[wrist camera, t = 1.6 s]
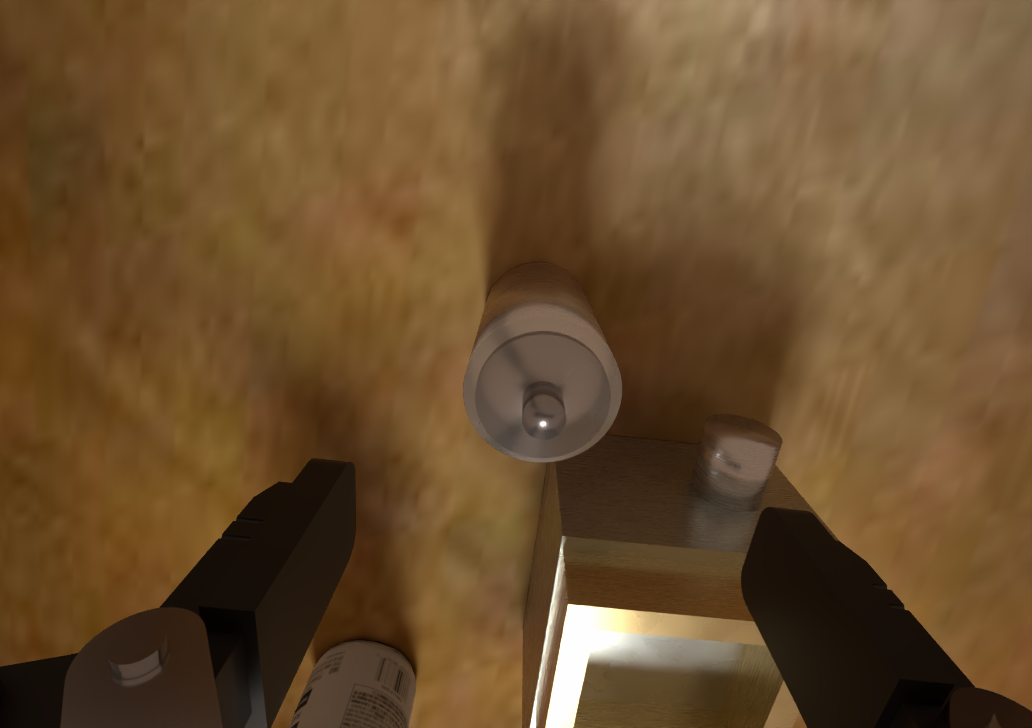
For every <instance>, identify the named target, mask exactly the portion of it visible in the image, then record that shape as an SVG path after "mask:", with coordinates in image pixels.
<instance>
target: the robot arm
mask: <svg viewBox="0 0 1032 728" xmlns="http://www.w3.org/2000/svg"><path fill="white" fill-rule="evenodd" d="M355 532H356V499H355V467H354V464H353V463H352V462H344V461H334V460H325V459H315V458H313V459H311V460H310V461H309V462H308V463H307V465H306V466H305V467H304V468H303V470H302V471H301V472H300V474H299V475H298V476H297V478H296V479H295V480H294V482H293V483H287V482H278V483H276V484H274V485H273V486H271V487H270V488H268V489H266V490H265V491H263V492H261V493H260V494H258V495H257V496H255V497H253V499H252V500H251V501H250V502H249V503H248V505H247V506H246V507H245V508H244V509H243V510H242V512H241V513H240V514H239V515H238V516H237V519H236V521H233V522H232V523H231V524H230V526H229V527H228V528H227V529H226V530H225V531H224V533H223V534H222V538H221V539H218V540H217V541H216V542H215V543H214V544H213V546H212V547H211V548H210V549H209V550H208V551H207V553H206V554H205V555H204V556H203V557H202V558H201V560H200V561H199V562H198V563H197V564H196V565H195V567H194V568H193V569H192V570H191V571H190V573H189V574H188V575H187V576H186V577H185V578H184V580H183V581H182V582H181V583H180V584H179V585H178V587H177V588H176V589H175V590H174V591H173V592H172V594H171V595H170V596H169V597H168V598H167V599H166V601H165V602H164V603H163V604H162V605H161V607H160V608H156V609H151V610H147V611H143V612H140V613H137V614H134V615H132V616H129V617H127V618H125V619H123V620H120V621H118V622H116V623H115V624H113V625H111V626H110V627H108V628H106V629H105V630H103V631H102V632H101V633H99V634H98V635H96V636H95V637H94V638H93V639H92V640H91V641H89V642H88V643H87V644H86V645H85V646H84V647H83V648H82V649H81V651H80V652H79V653H76V654H71V655H66V656H60V657H54V658H49V659H43V660H37V661H31V662H25V663H19V664H14V665H8V666H2V667H0V728H271V726H272V724H273V722H274V720H275V718H276V715H277V713H278V711H279V709H280V707H281V705H282V703H283V700H284V698H285V696H286V694H287V692H288V690H289V688H290V685H291V683H292V681H293V679H294V677H295V675H296V673H297V670H298V668H299V666H300V664H301V662H302V660H303V658H304V656H305V653H306V651H307V649H308V647H309V645H310V643H311V641H312V638H313V636H314V634H315V632H316V630H317V628H318V626H319V623H320V621H321V619H322V617H323V615H324V613H325V611H326V608H327V606H328V604H329V602H330V600H331V598H332V596H333V594H334V591H335V589H336V587H337V585H338V583H339V581H340V579H341V576H342V574H343V572H344V570H345V568H346V566H347V564H348V561H349V559H350V556H351V553H352V549H353V545H354V540H355ZM741 589H742V594H743V598H744V601H745V603H746V606H747V608H748V610H749V612H750V614H751V616H752V618H753V620H754V622H755V624H756V626H757V628H758V630H759V632H760V634H761V636H762V638H763V640H764V642H765V644H766V646H767V648H768V650H769V652H770V654H771V656H772V658H773V660H774V662H775V664H776V666H777V668H778V670H779V672H780V674H781V676H782V678H783V680H784V682H785V684H786V686H787V688H788V690H789V692H790V694H791V696H792V698H793V700H794V702H795V704H796V706H797V708H798V710H799V712H800V714H801V716H802V718H803V720H804V722H805V724H806V726H807V728H1032V711H1030V710H1029V709H1027V708H1026V707H1024V706H1022V705H1020V704H1019V703H1017V702H1015V701H1013V700H1011V699H1009V698H1007V697H1005V696H1002V695H1000V694H997V693H995V692H992V691H989V690H985V689H981V688H976V687H975V686H974V685H973V684H972V683H971V682H970V681H969V679H968V678H967V677H966V676H965V675H964V674H963V672H962V671H961V670H960V669H959V668H958V667H957V665H956V664H955V663H954V662H953V661H952V660H951V659H950V657H949V656H948V655H947V654H946V653H945V652H944V650H943V649H942V648H941V647H940V646H939V645H938V644H937V642H936V641H935V640H934V639H933V638H932V637H931V635H930V634H929V633H928V632H927V631H926V630H925V629H924V627H923V626H922V625H921V624H920V623H919V622H918V620H917V619H916V618H915V617H914V616H913V615H912V614H911V612H910V611H909V610H905V609H904V604H903V603H902V602H901V601H900V600H899V598H898V597H897V596H896V595H895V594H894V593H893V592H892V590H888V589H887V585H886V583H885V582H884V581H883V580H882V579H881V578H880V577H879V575H878V574H877V573H876V572H875V571H874V570H873V568H872V567H871V566H870V565H869V564H868V563H867V562H866V561H865V560H864V559H862V558H861V557H860V556H858V555H857V554H856V553H854V552H853V551H852V550H850V549H849V548H848V547H846V546H845V545H844V544H842V543H841V542H840V541H836V540H835V539H834V538H833V537H832V536H831V534H830V533H829V532H828V531H827V530H826V528H825V527H824V526H823V525H822V524H821V522H820V521H819V520H818V519H817V518H816V516H815V515H814V514H813V513H811V512H809V511H804V510H795V509H785V508H775V507H767V508H765V509H764V510H763V511H762V513H761V514H760V517H759V519H758V522H757V525H756V528H755V531H754V534H753V537H752V540H751V543H750V546H749V549H748V552H747V555H746V558H745V561H744V564H743V567H742V572H741Z"/></svg>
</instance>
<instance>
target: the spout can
mask: <svg viewBox="0 0 1032 728" xmlns="http://www.w3.org/2000/svg"><path fill="white" fill-rule="evenodd" d="M463 398H464V405H465V408H466V412H467V415H468V417H469V419H470V421H471V423H472V425H473V426H474V428H475V430H476V431H477V432H478V433H479V435H480V436H481V437H482V438H483V439H484V440H485V441H486V442H487V443H488V444H490V445H491V446H492V447H494V448H495V449H496V450H498V451H500V452H502V453H504V454H506V455H508V456H511V457H513V458H516V459H520V460H523V461H530V462H554V461H560V460H564V459H567V458H571V457H573V456H576V455H578V454H580V453H582V452H584V451H585V450H587V449H589V448H590V447H592V446H593V445H594V444H596V443H597V442H598V441H599V440H600V439H601V438H602V437H603V436H604V435H605V434H606V432H607V431H608V430H609V429H610V427H611V425H612V424H613V422H614V420H615V418H616V416H617V414H618V411H619V408H620V404H621V398H622V380H621V374H620V371H619V368H618V365H617V362H616V360H615V358H614V356H613V354H612V352H611V349H610V347H609V345H608V343H607V341H606V339H605V337H604V334H603V332H602V330H601V328H600V326H599V324H598V321H597V319H596V317H595V315H594V313H593V311H592V309H591V306H590V304H589V302H588V300H587V298H586V296H585V293H584V291H583V289H582V287H581V286H580V284H579V283H578V281H577V280H576V279H575V278H574V277H573V276H572V275H571V274H569V273H568V272H567V271H565V270H564V269H562V268H560V267H558V266H555V265H552V264H549V263H543V262H532V263H526V264H522V265H519V266H516V267H514V268H512V269H510V270H509V271H507V272H506V273H504V274H503V275H502V276H501V277H500V278H499V279H498V280H497V281H496V283H495V284H494V286H493V287H492V289H491V291H490V293H489V295H488V298H487V302H486V305H485V309H484V312H483V315H482V319H481V322H480V326H479V329H478V332H477V336H476V339H475V343H474V346H473V349H472V353H471V356H470V359H469V363H468V366H467V370H466V373H465V377H464V383H463Z"/></svg>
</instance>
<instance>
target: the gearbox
mask: <svg viewBox="0 0 1032 728" xmlns="http://www.w3.org/2000/svg"><path fill="white" fill-rule="evenodd" d="M781 445H782V438H781V437H780V435H779V434H778V433H777V432H776V431H774V430H773V429H771V428H770V427H768V426H766V425H764V424H762V423H760V422H758V421H755V420H753V419H749V418H746V417H742V416H738V415H731V414H716V415H712V416H710V417H708V418H707V420H706V424H705V427H704V431H703V435H702V438H701V442H700V444H691V443H681V442H671V441H661V440H651V439H641V438H631V437H621V436H611V435H604V436H603V437H602V438H601V439H600V440H599V441H598V442H597V443H596V444H594V445H593V446H592V447H590V448H589V449H587V450H585V451H584V452H582V453H580V454H578V455H576V456H573V457H571V458H567V459H564V460H560V461H554V462H547V467H546V474H545V481H544V488H543V495H542V502H541V509H540V516H539V522H538V529H537V536H536V543H535V550H534V557H533V564H532V571H531V578H530V584H529V591H528V598H527V605H526V612H525V619H524V626H523V679H522V728H792V727H793V724H794V722H795V720H796V718H797V716H798V713H799V710H798V708H797V706H796V704H795V702H794V700H793V698H792V696H791V694H790V692H789V690H788V688H787V686H786V684H785V682H784V680H783V678H782V676H781V674H780V672H779V670H778V668H777V666H776V664H775V662H774V660H773V658H772V656H771V654H770V652H769V650H768V648H767V646H766V644H765V642H764V640H763V638H762V636H761V634H760V632H759V630H758V628H757V626H756V624H755V622H754V620H753V618H752V616H751V614H750V612H749V610H748V608H747V606H746V603H745V601H744V598H743V594H742V589H741V572H742V567H743V564H744V561H745V558H746V555H747V552H748V549H749V546H750V543H751V540H752V537H753V534H754V531H755V528H756V525H757V522H758V519H759V517H760V514H761V513H762V511H763V510H764V509H765V508H767V507H775V508H785V509H795V510H804V511H809V512H811V513H813V514H814V515H815V516H816V518H817V519H818V520H819V521H820V522H821V524H822V525H823V526H824V527H825V528H826V530H827V531H828V532H829V533H830V534H831V536H832V537H833V538H834V539H835V540H836V541H839V540H838V539H837V538H836V536H835V535H834V534H833V533H832V532H831V530H830V529H829V528H828V527H827V526H826V524H825V523H824V522H823V521H822V520H821V519H820V517H819V516H818V515H817V514H816V513H815V511H814V510H813V509H812V508H811V507H810V505H809V504H808V503H807V502H806V501H805V499H804V498H803V497H802V496H801V495H800V493H799V492H798V491H797V490H796V489H795V488H794V486H793V485H792V484H791V483H790V482H789V480H788V479H787V478H786V477H785V476H784V474H783V473H782V472H781V471H780V470H779V468H778V467H777V466H776V465H775V463H776V460H777V457H778V454H779V451H780V448H781Z"/></svg>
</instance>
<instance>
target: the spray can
mask: <svg viewBox="0 0 1032 728" xmlns="http://www.w3.org/2000/svg"><path fill="white" fill-rule="evenodd" d="M415 692H416V678H415V675H414V672H413V669H412V666H411V664H410V663H409V661H408V660H407V659H406V658H405V657H404V656H403V655H402V654H401V652H399V651H398V650H397V649H394V648H391V647H388V646H385V645H383V644H380V643H376V642H373V641H364V640H354V641H351V642H344V643H341V644H339V645H337V646H335V647H333V648H330V649H329V650H328V651H327V652H325V653H324V654H323V655H322V657H321V658H320V660H319V661H318V662H317V664H316V665H315V667H314V669H313V671H312V673H311V676H310V678H309V680H308V683H307V685H306V687H305V690H304V692H303V694H302V697H301V700H300V702H299V704H298V707H297V709H296V711H295V713H294V716H293V718H292V720H291V724H290V726H289V728H408V727H409V722H410V717H411V713H412V708H413V703H414V698H415Z"/></svg>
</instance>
